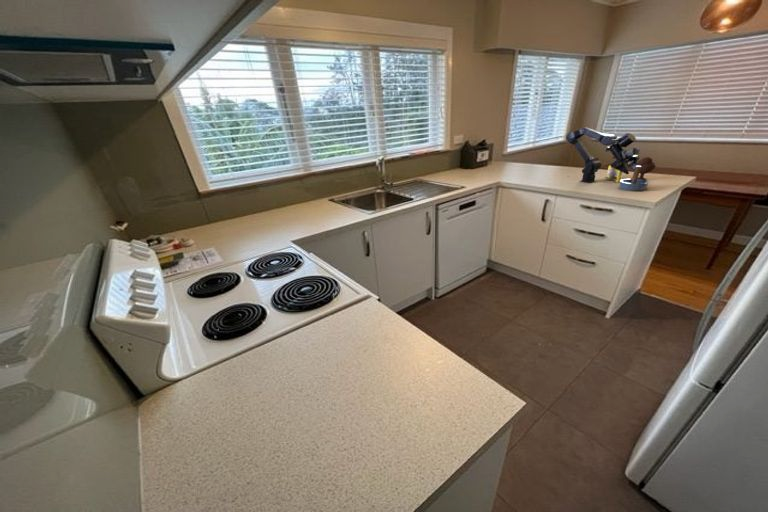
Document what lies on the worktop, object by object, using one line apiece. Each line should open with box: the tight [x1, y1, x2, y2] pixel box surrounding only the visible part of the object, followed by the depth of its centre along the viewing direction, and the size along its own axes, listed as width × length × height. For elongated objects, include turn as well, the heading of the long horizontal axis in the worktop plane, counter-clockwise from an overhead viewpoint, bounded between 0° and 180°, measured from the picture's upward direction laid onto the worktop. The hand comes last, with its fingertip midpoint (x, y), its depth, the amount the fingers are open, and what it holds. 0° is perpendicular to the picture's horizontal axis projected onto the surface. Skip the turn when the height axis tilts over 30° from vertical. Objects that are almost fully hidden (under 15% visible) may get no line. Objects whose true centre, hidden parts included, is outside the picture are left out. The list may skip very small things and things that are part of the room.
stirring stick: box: [631, 166, 641, 184], centre depth 180 cm, size 4×4×13 cm
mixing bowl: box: [618, 178, 649, 192], centre depth 182 cm, size 13×13×4 cm
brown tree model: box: [637, 156, 657, 181], centre depth 196 cm, size 11×11×15 cm
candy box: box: [606, 165, 623, 183], centre depth 204 cm, size 16×2×8 cm, turn 168°
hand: (632, 172), depth 181 cm, fingers open, 9 cm apart
